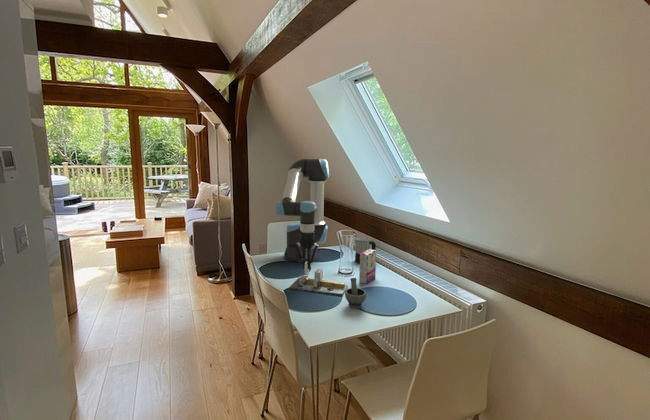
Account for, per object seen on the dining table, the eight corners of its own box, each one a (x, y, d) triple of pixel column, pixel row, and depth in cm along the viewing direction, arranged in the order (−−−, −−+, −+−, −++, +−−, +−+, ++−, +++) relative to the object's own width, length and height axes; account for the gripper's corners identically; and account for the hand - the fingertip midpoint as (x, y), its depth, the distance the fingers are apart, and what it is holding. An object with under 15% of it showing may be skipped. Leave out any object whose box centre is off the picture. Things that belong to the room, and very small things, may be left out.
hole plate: (297, 280, 192) (297, 278, 191) (347, 287, 184) (347, 285, 184) (289, 288, 180) (289, 286, 180) (342, 296, 172) (342, 293, 172)
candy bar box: (367, 276, 200) (368, 248, 197) (375, 278, 197) (376, 250, 194) (358, 282, 191) (359, 253, 188) (366, 284, 188) (368, 255, 185)
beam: (300, 280, 189) (300, 275, 188) (345, 286, 182) (345, 280, 181) (295, 285, 182) (295, 279, 182) (341, 291, 175) (341, 286, 175)
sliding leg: (317, 281, 187) (317, 268, 186) (322, 282, 186) (322, 269, 185) (312, 287, 179) (312, 273, 178) (317, 287, 179) (318, 274, 177)
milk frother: (361, 264, 219) (361, 241, 217) (345, 258, 232) (345, 236, 229) (377, 260, 228) (378, 238, 225) (361, 254, 240) (361, 233, 238)
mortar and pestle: (367, 310, 158) (369, 285, 156) (347, 311, 156) (348, 286, 154) (361, 299, 169) (362, 275, 167) (342, 300, 167) (343, 276, 165)
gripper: (292, 231, 180) (292, 275, 184) (316, 233, 176) (316, 278, 180) (298, 228, 187) (297, 270, 191) (321, 230, 183) (320, 273, 187)
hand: (306, 274), depth 186 cm, fingers closed
